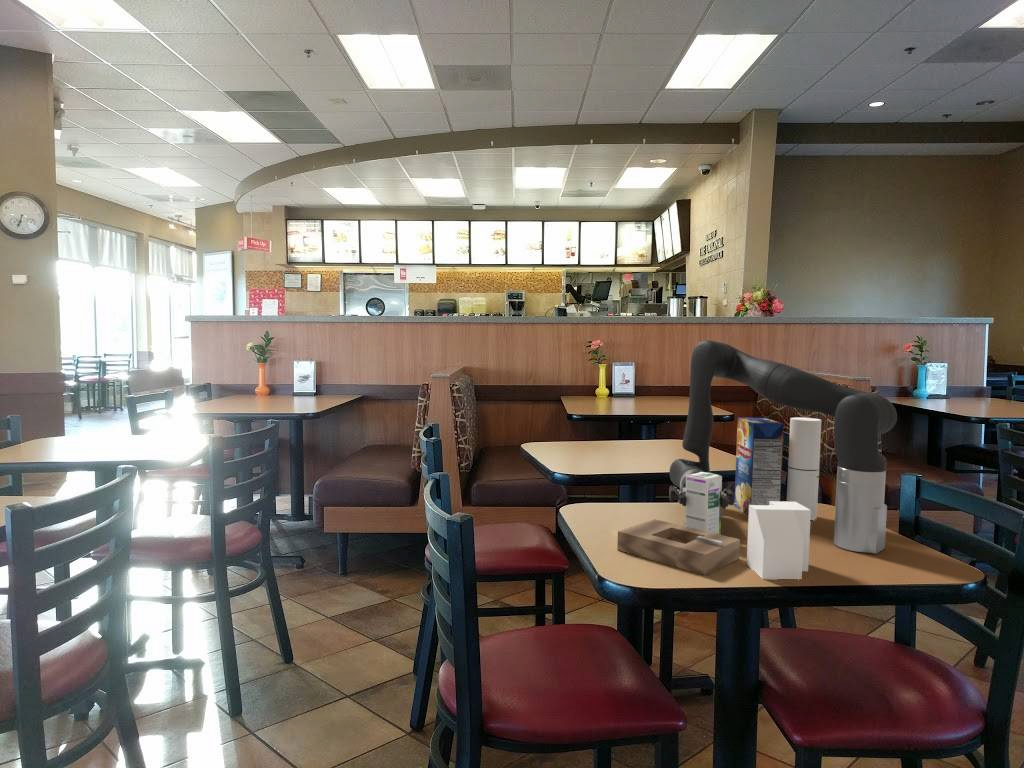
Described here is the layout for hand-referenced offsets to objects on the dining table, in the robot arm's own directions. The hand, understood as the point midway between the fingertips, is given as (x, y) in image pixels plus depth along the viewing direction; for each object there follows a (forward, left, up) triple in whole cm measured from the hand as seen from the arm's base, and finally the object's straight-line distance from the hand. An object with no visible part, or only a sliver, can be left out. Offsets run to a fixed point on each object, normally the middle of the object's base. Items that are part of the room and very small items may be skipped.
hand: (704, 502), depth 143 cm
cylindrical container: (-7, -38, -9) cm, 39 cm away
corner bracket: (-19, +5, -9) cm, 22 cm away
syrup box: (+1, -1, -9) cm, 9 cm away
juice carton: (+3, -34, -9) cm, 35 cm away
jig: (-1, +13, -9) cm, 15 cm away
